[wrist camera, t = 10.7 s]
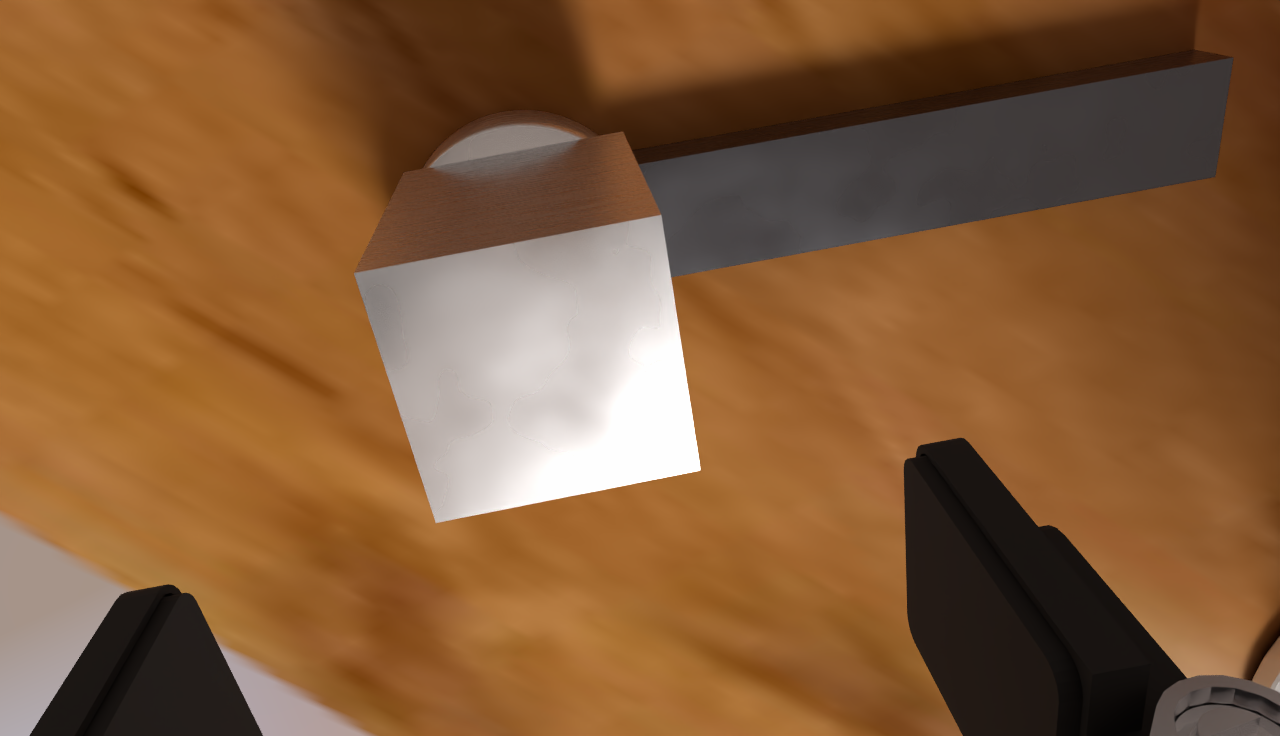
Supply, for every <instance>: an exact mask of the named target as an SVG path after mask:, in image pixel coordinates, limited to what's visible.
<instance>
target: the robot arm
mask: <svg viewBox="0 0 1280 736" xmlns="http://www.w3.org/2000/svg"><path fill="white" fill-rule="evenodd" d="M904 495H905V536H906V577H907V614H908V622H909V627H910V630H911V634H912V637H913V639H914V642H915V644H916V646H917V648H918V650H919V652H920V654H921V656H922V657H923V659H924V661H925V663H926V665H927V667H928V669H929V671H930V673H931V675H932V677H933V679H934V681H935V683H936V684H937V686H938V688H939V690H940V692H941V694H942V696H943V698H944V700H945V702H946V704H947V706H948V708H949V710H950V712H951V713H952V715H953V717H954V719H955V721H956V723H957V725H958V727H959V729H960V731H961V733H962V735H963V736H1280V636H1279V637H1278V639H1277V640H1276V641H1275V643H1274V644H1273V645H1272V647H1271V648H1270V649H1269V651H1268V652H1267V653H1266V655H1265V656H1264V658H1263V660H1262V662H1261V663H1260V665H1259V667H1258V669H1257V671H1256V673H1255V675H1254V677H1253V680H1252V681H1250V680H1245V679H1239V678H1234V677H1229V676H1224V675H1205V676H1195V677H1191V678H1188V679H1187V678H1186V676H1185V675H1184V674H1183V673H1182V672H1181V671H1180V669H1179V668H1178V667H1177V666H1176V665H1175V664H1174V662H1173V661H1172V660H1171V659H1170V658H1169V657H1168V655H1167V654H1166V653H1165V652H1164V651H1163V650H1162V648H1161V647H1160V646H1159V645H1158V644H1157V643H1156V641H1155V640H1154V639H1153V638H1152V637H1151V636H1150V634H1149V633H1148V632H1147V631H1146V630H1145V628H1144V627H1143V626H1142V625H1141V624H1140V623H1139V621H1138V620H1137V619H1136V618H1135V617H1134V616H1133V614H1132V613H1131V612H1130V611H1129V610H1128V609H1127V607H1126V606H1125V605H1124V604H1123V603H1122V602H1121V600H1120V599H1119V598H1118V597H1117V596H1116V595H1115V593H1114V592H1113V591H1112V590H1111V589H1110V588H1109V586H1108V585H1107V584H1106V583H1105V582H1104V581H1103V579H1102V578H1101V577H1100V576H1099V575H1098V574H1097V572H1096V571H1095V570H1094V569H1093V568H1092V567H1091V565H1090V564H1089V563H1088V562H1087V561H1086V560H1085V558H1084V557H1083V556H1082V555H1081V554H1080V553H1079V551H1078V550H1077V549H1076V548H1075V547H1074V546H1073V544H1072V543H1071V542H1070V541H1069V540H1068V539H1067V537H1066V536H1065V535H1064V534H1063V533H1062V532H1060V531H1059V530H1058V529H1057V528H1055V527H1053V526H1050V525H1047V526H1042V527H1038V526H1037V525H1036V524H1035V522H1034V521H1033V520H1032V519H1031V518H1030V516H1029V515H1028V514H1027V513H1026V512H1025V510H1024V509H1023V508H1022V507H1021V505H1020V504H1019V503H1018V502H1017V501H1016V499H1015V498H1014V497H1013V496H1012V495H1011V493H1010V492H1009V491H1008V490H1007V488H1006V487H1005V486H1004V485H1003V484H1002V482H1001V481H1000V480H999V479H998V478H997V476H996V475H995V474H994V473H993V471H992V470H991V469H990V468H989V467H988V465H987V464H986V463H985V462H984V461H983V459H982V458H981V457H980V456H979V454H978V453H977V452H976V451H975V450H974V448H973V447H972V446H971V445H970V444H969V442H968V441H966V440H965V439H964V438H957V439H951V440H946V441H941V442H935V443H930V444H924V445H920V446H919V447H918V449H917V452H916V457H915V458H910V459H907V460H905V463H904ZM30 736H263V735H262V733H261V731H260V729H259V727H258V725H257V723H256V721H255V719H254V717H253V715H252V713H251V711H250V709H249V707H248V704H247V702H246V701H245V698H244V696H243V694H242V692H241V691H240V688H239V686H238V684H237V682H236V680H235V679H234V676H233V674H232V672H231V670H230V668H229V666H228V664H227V662H226V660H225V658H224V656H223V654H222V652H221V650H220V648H219V646H218V644H217V642H216V640H215V638H214V636H213V634H212V632H211V630H210V628H209V626H208V624H207V622H206V620H205V618H204V616H203V614H202V612H201V610H200V608H199V605H198V603H197V601H196V600H195V598H194V597H193V596H192V595H191V594H189V593H181V592H180V590H179V589H178V588H176V587H175V586H174V585H163V586H157V587H152V588H147V589H141V590H136V591H130V592H126V593H124V594H121V595H120V596H119V598H118V599H117V600H116V601H115V603H114V604H113V606H112V607H111V609H110V611H109V612H108V614H107V615H106V617H105V618H104V620H103V621H102V623H101V624H100V626H99V628H98V629H97V631H96V632H95V634H94V636H93V637H92V639H91V640H90V642H89V643H88V645H87V647H86V648H85V650H84V651H83V653H82V654H81V656H80V657H79V659H78V661H77V662H76V664H75V665H74V667H73V668H72V670H71V671H70V673H69V675H68V676H67V678H66V679H65V681H64V682H63V684H62V686H61V687H60V689H59V690H58V692H57V694H56V695H55V697H54V698H53V700H52V701H51V703H50V705H49V706H48V708H47V709H46V711H45V712H44V714H43V715H42V717H41V718H40V720H39V722H38V723H37V725H36V726H35V728H34V729H33V731H32V733H31V734H30Z"/></svg>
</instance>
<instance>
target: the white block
mask: <svg viewBox="0 0 1280 736" xmlns="http://www.w3.org/2000/svg"><path fill="white" fill-rule="evenodd" d="M354 275H355V278H356V281H357V284H358V287H359V290H360V293H361V296H362V299H363V302H364V305H365V308H366V311H367V314H368V317H369V320H370V323H371V326H372V329H373V332H374V335H375V339H376V342H377V345H378V348H379V351H380V354H381V357H382V360H383V363H384V366H385V369H386V372H387V375H388V378H389V381H390V384H391V387H392V390H393V393H394V396H395V399H396V402H397V405H398V409H399V412H400V415H401V418H402V421H403V424H404V427H405V430H406V433H407V436H408V439H409V442H410V445H411V448H412V451H413V454H414V457H415V460H416V463H417V466H418V469H419V472H420V476H421V479H422V482H423V485H424V488H425V491H426V494H427V497H428V500H429V503H430V506H431V509H432V512H433V515H434V518H435V521H436V523H438V522H443V521H448V520H453V519H458V518H463V517H468V516H473V515H478V514H483V513H488V512H493V511H498V510H503V509H508V508H513V507H518V506H523V505H528V504H533V503H538V502H543V501H548V500H553V499H558V498H564V497H569V496H574V495H579V494H584V493H589V492H594V491H599V490H604V489H609V488H614V487H619V486H624V485H629V484H634V483H639V482H644V481H649V480H654V479H659V478H664V477H669V476H674V475H679V474H684V473H689V472H694V471H699V470H700V464H699V457H698V451H697V444H696V438H695V431H694V425H693V418H692V411H691V405H690V398H689V392H688V385H687V379H686V372H685V366H684V359H683V353H682V346H681V340H680V333H679V327H678V320H677V314H676V307H675V301H674V294H673V287H672V281H671V274H670V268H669V261H668V255H667V248H666V242H665V235H664V229H663V222H662V216H661V213H660V211H659V209H658V206H657V204H656V202H655V200H654V198H653V196H652V193H651V191H650V189H649V187H648V185H647V183H646V180H645V178H644V176H643V174H642V172H641V170H640V167H639V165H638V163H637V161H636V159H635V157H634V154H633V152H632V150H631V148H630V146H629V144H628V141H627V139H626V137H625V135H624V133H623V131H622V132H617V133H611V134H606V135H601V136H595V137H590V138H585V139H579V140H574V141H568V142H563V143H558V144H552V145H547V146H542V147H536V148H531V149H526V150H520V151H515V152H510V153H504V154H499V155H494V156H488V157H483V158H478V159H472V160H467V161H461V162H456V163H451V164H445V165H440V166H435V167H429V168H424V169H419V170H413V171H408V172H404V173H403V175H402V177H401V179H400V181H399V183H398V185H397V187H396V189H395V191H394V193H393V195H392V197H391V199H390V201H389V203H388V205H387V207H386V209H385V212H384V214H383V216H382V218H381V220H380V222H379V224H378V226H377V228H376V230H375V232H374V234H373V236H372V238H371V240H370V242H369V244H368V246H367V248H366V250H365V252H364V254H363V256H362V258H361V260H360V262H359V264H358V266H357V268H356V270H355V272H354Z"/></svg>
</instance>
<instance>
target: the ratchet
mask: <svg viewBox="0 0 1280 736" xmlns="http://www.w3.org/2000/svg"><path fill="white" fill-rule="evenodd" d="M1232 64H1233V57H1228V56H1223V55H1218V54H1213V53H1208V52H1203V51H1198V50H1190V51H1184V52H1179V53H1173V54H1168V55H1162V56H1157V57H1151V58H1145V59H1140V60H1134V61H1129V62H1123V63H1118V64H1112V65H1106V66H1101V67H1095V68H1090V69H1084V70H1079V71H1073V72H1067V73H1062V74H1056V75H1051V76H1045V77H1039V78H1034V79H1028V80H1023V81H1017V82H1012V83H1006V84H1000V85H995V86H989V87H984V88H978V89H973V90H967V91H961V92H956V93H950V94H945V95H939V96H934V97H928V98H922V99H917V100H911V101H906V102H900V103H894V104H889V105H883V106H878V107H872V108H867V109H861V110H855V111H850V112H844V113H839V114H833V115H828V116H822V117H816V118H811V119H805V120H800V121H794V122H789V123H783V124H777V125H772V126H766V127H761V128H755V129H749V130H744V131H738V132H733V133H727V134H722V135H716V136H710V137H705V138H699V139H694V140H688V141H683V142H677V143H671V144H666V145H660V146H655V147H649V148H644V149H638V150H632V152H633V154H634V157H635V159H636V161H637V163H638V165H639V167H640V170H641V172H642V174H643V176H644V178H645V180H646V183H647V185H648V187H649V189H650V191H651V193H652V196H653V198H654V200H655V202H656V204H657V206H658V209H659V211H660V213H661V216H662V222H663V229H664V235H665V242H666V248H667V255H668V261H669V268H670V274H671V277H675V276H680V275H686V274H691V273H697V272H702V271H707V270H713V269H718V268H724V267H729V266H735V265H740V264H745V263H751V262H756V261H762V260H767V259H773V258H778V257H783V256H789V255H794V254H800V253H805V252H810V251H816V250H821V249H827V248H832V247H838V246H843V245H848V244H854V243H859V242H865V241H870V240H876V239H881V238H886V237H892V236H897V235H903V234H908V233H914V232H919V231H924V230H930V229H935V228H941V227H946V226H952V225H957V224H962V223H968V222H973V221H979V220H984V219H989V218H995V217H1000V216H1006V215H1011V214H1017V213H1022V212H1027V211H1033V210H1038V209H1044V208H1049V207H1055V206H1060V205H1065V204H1071V203H1076V202H1082V201H1087V200H1093V199H1098V198H1103V197H1109V196H1114V195H1120V194H1125V193H1131V192H1136V191H1141V190H1147V189H1152V188H1158V187H1163V186H1168V185H1174V184H1179V183H1185V182H1190V181H1196V180H1201V179H1206V178H1212V177H1215V175H1216V169H1217V162H1218V155H1219V149H1220V142H1221V136H1222V129H1223V123H1224V116H1225V109H1226V103H1227V96H1228V90H1229V83H1230V77H1231V70H1232ZM595 136H598V135H597V134H596V133H595V132H593V131H591V130H590V129H588V128H587V127H585V126H583V125H582V124H580V123H578V122H575V121H573V120H571V119H569V118H566V117H563V116H560V115H556V114H553V113H549V112H543V111H536V110H513V111H504V112H499V113H495V114H491V115H487V116H485V117H482V118H479V119H477V120H474V121H472V122H470V123H469V124H467V125H465V126H463V127H461V128H460V129H458V130H457V131H456V132H454V133H453V134H452V135H450V136H449V137H448V138H446V139H445V140H444V141H443V142H442V143H441V144H440V145H439V146H438V148H437V149H436V150H435V151H434V152H433V154H432V155H431V156H430V158H429V159H428V160H427V162H426V163H425V165H424V167H423V169H424V168H429V167H435V166H440V165H445V164H451V163H456V162H461V161H467V160H472V159H478V158H483V157H488V156H494V155H499V154H504V153H510V152H515V151H520V150H526V149H531V148H536V147H542V146H547V145H552V144H558V143H563V142H568V141H574V140H579V139H585V138H590V137H595Z"/></svg>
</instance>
